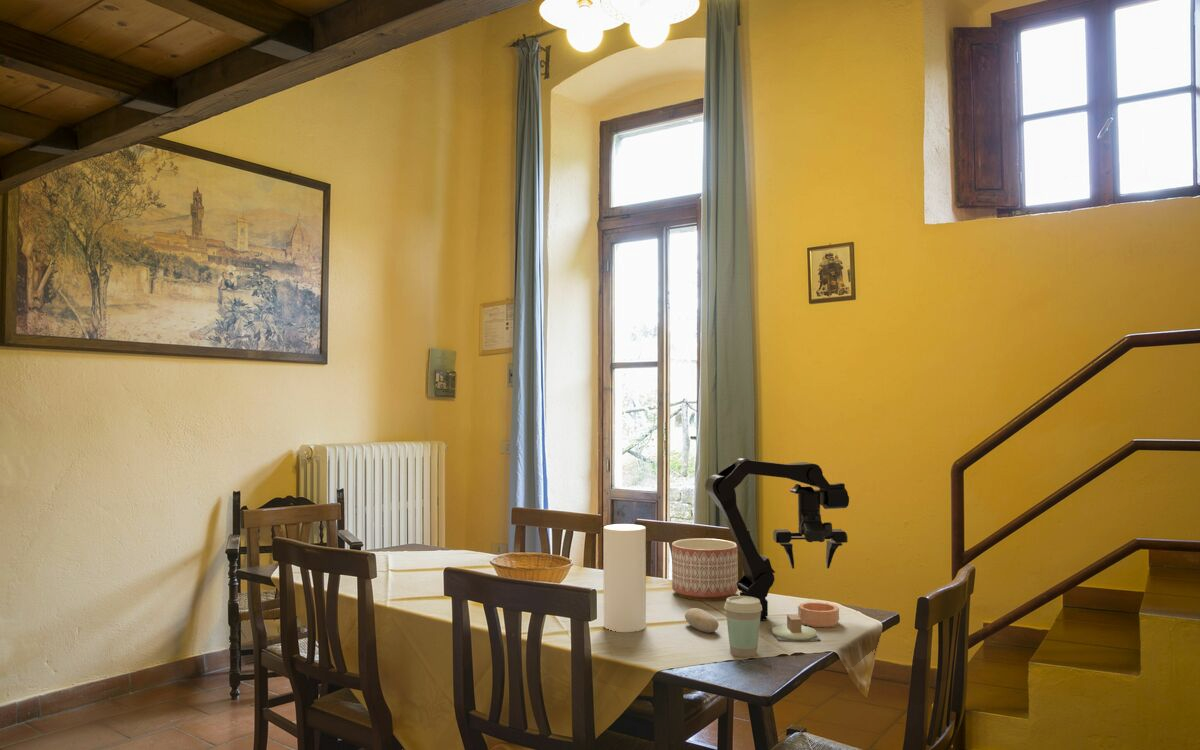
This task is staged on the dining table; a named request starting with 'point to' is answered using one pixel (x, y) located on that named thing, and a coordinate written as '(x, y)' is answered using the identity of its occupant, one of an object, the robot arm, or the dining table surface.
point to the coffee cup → (743, 624)
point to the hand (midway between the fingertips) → (810, 568)
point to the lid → (794, 629)
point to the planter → (704, 568)
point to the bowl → (818, 614)
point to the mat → (794, 640)
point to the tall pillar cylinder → (625, 577)
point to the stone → (701, 620)
